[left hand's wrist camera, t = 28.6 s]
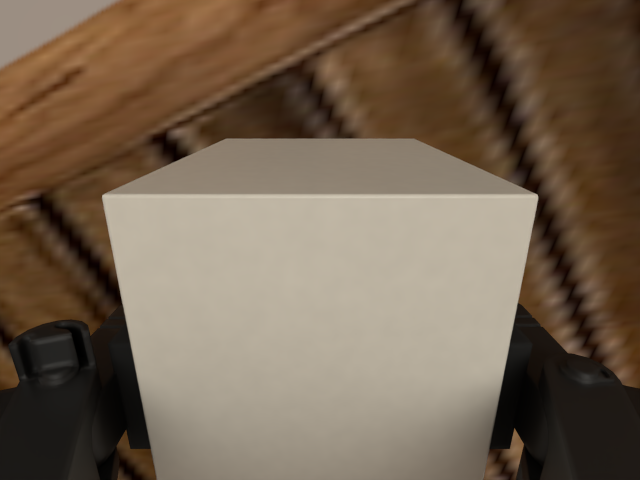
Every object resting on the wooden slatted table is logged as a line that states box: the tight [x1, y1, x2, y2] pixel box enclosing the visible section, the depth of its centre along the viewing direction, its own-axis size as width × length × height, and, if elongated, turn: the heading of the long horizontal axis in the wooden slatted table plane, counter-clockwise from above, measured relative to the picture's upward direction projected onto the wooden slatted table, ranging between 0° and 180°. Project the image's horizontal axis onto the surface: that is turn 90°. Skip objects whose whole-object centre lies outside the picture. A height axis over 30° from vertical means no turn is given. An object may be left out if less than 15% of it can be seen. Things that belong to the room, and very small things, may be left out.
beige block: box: [102, 139, 538, 480], centre depth 12 cm, size 9×7×8 cm
